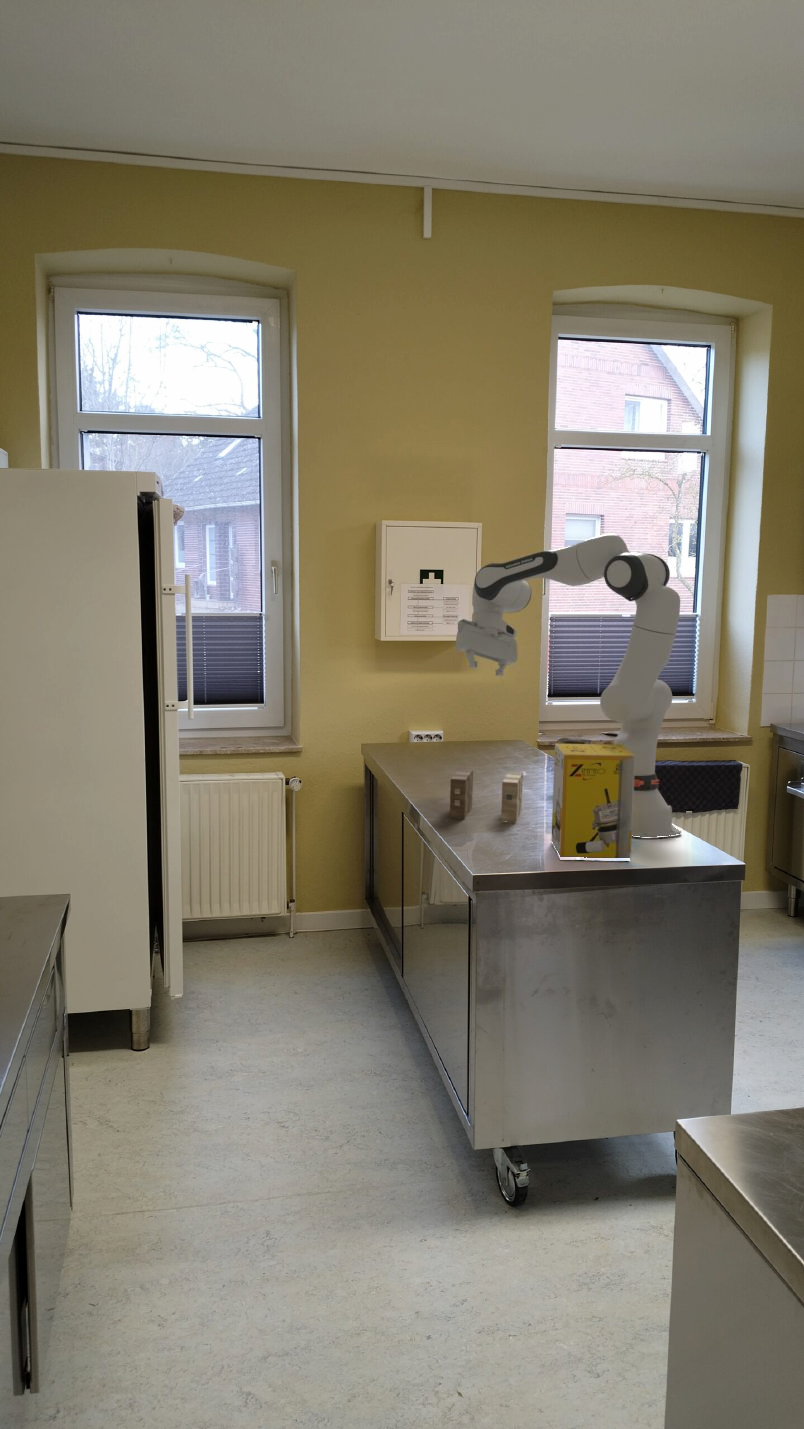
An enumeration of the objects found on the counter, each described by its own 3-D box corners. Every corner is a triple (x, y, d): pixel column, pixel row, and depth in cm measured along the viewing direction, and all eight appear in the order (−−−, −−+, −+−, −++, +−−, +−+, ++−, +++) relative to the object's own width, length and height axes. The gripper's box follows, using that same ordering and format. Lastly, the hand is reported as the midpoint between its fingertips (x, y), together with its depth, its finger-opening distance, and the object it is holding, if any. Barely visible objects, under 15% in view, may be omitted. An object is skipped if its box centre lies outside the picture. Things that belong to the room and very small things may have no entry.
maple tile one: (507, 810, 284) (508, 772, 283) (521, 811, 283) (522, 773, 282) (501, 822, 270) (502, 782, 269) (515, 823, 269) (517, 783, 268)
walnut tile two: (458, 807, 287) (459, 769, 286) (472, 808, 286) (473, 770, 285) (449, 819, 273) (450, 779, 272) (464, 820, 272) (465, 780, 271)
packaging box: (630, 862, 234) (635, 756, 231) (560, 861, 234) (564, 754, 231) (617, 843, 250) (621, 744, 247) (551, 842, 250) (554, 743, 247)
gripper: (465, 613, 283) (464, 659, 278) (520, 632, 293) (520, 676, 289) (451, 620, 287) (450, 666, 283) (506, 639, 298) (506, 682, 294)
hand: (486, 671), depth 286 cm, fingers open, 8 cm apart
